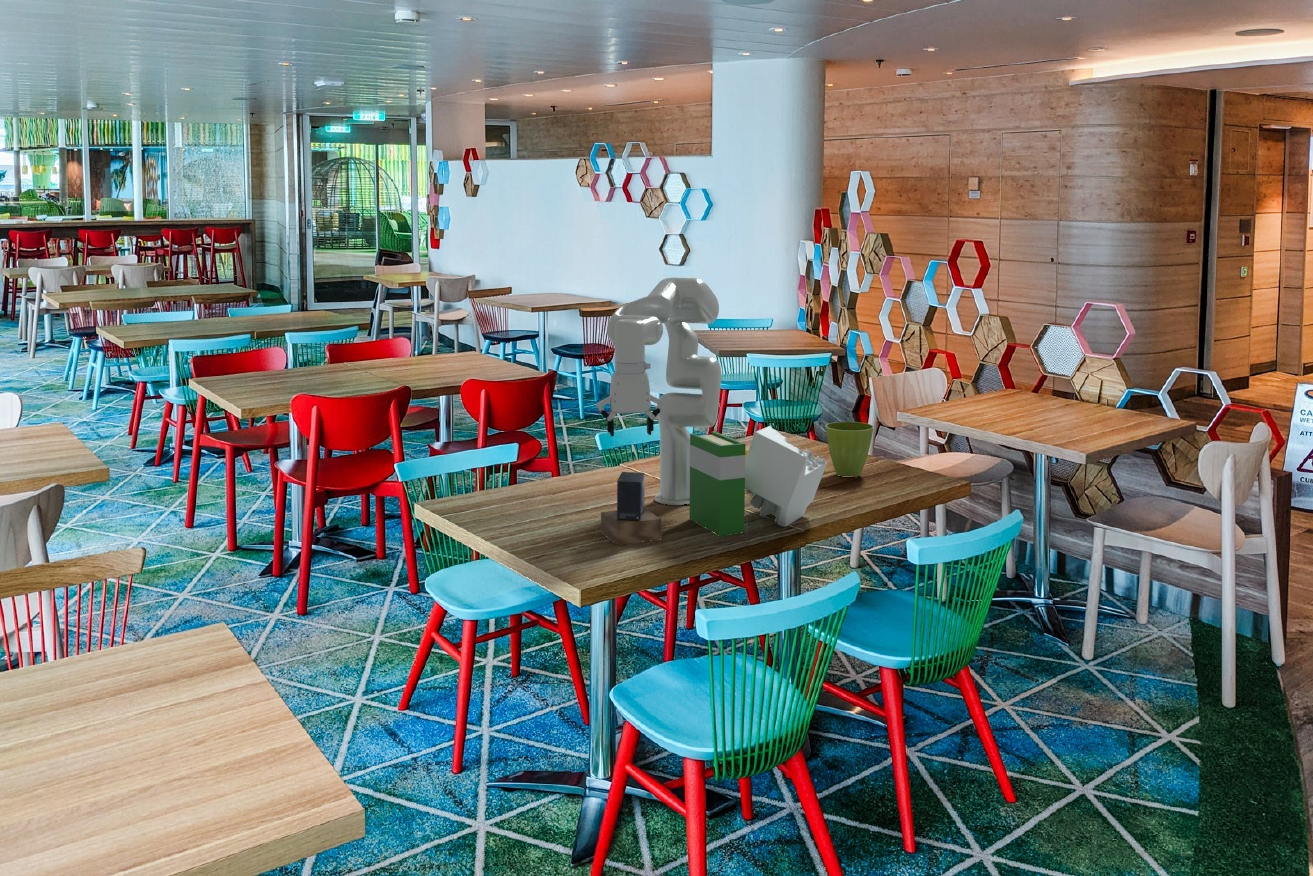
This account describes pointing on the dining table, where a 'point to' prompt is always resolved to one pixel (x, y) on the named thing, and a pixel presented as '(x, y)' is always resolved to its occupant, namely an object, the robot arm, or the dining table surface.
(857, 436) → the flower pot
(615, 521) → the walnut block
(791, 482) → the white toy brick
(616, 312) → the robot arm
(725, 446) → the hardback book
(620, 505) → the small box
